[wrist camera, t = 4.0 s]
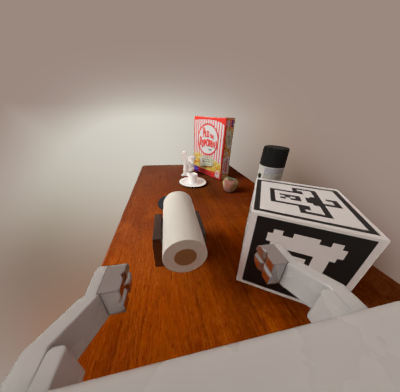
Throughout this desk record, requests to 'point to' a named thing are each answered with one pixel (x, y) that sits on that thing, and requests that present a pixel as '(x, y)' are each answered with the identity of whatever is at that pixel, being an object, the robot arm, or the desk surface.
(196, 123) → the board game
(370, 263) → the block
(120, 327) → the desk surface
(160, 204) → the coaster
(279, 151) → the spray can
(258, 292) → the desk surface
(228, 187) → the apple
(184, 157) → the koala figurine
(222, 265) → the desk surface
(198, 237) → the paper towel roll
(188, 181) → the candle holder
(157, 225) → the cradle
